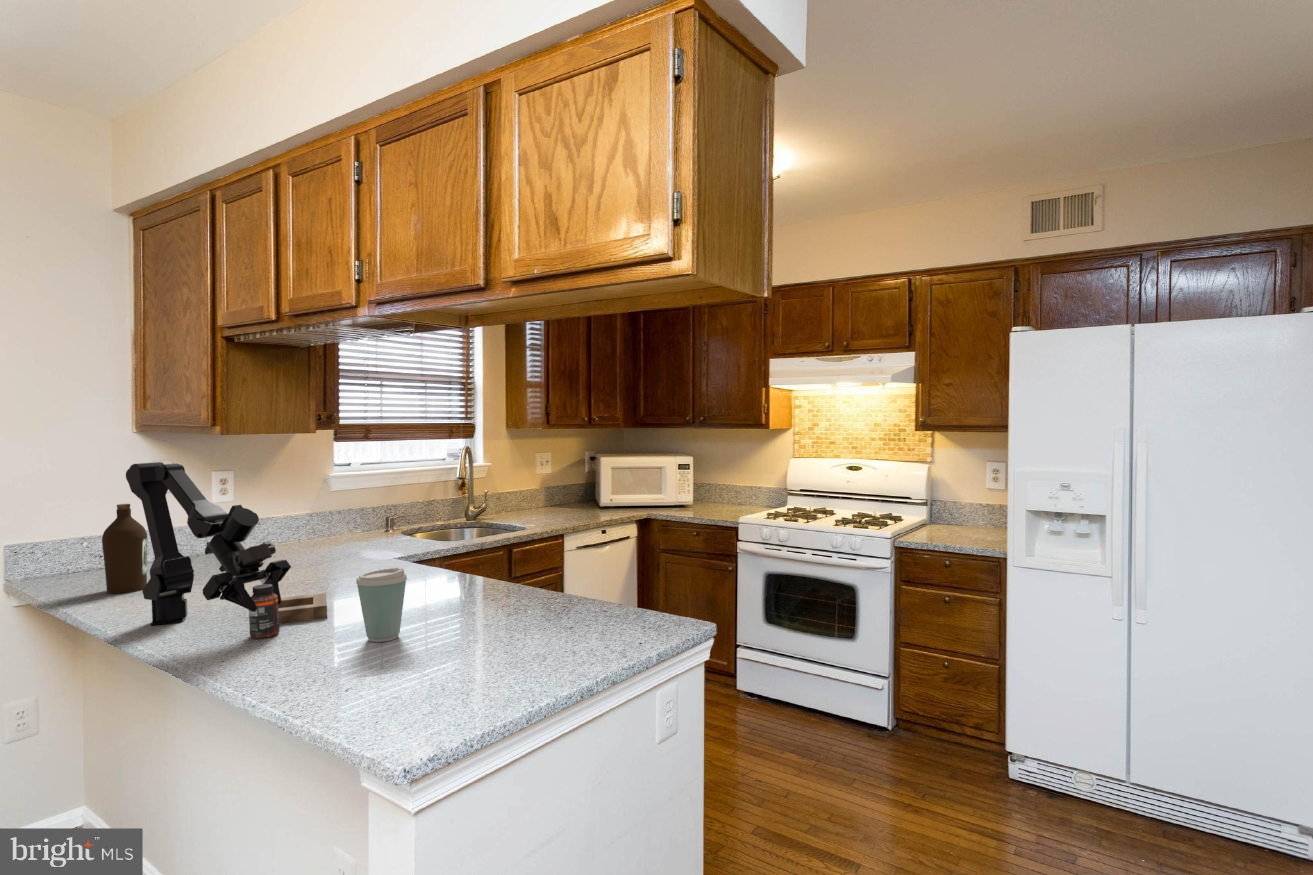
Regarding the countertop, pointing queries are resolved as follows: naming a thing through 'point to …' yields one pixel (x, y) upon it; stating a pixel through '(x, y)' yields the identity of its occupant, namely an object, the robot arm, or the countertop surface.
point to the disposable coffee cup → (382, 602)
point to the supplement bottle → (264, 612)
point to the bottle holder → (302, 608)
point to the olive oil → (125, 553)
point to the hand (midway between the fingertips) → (267, 606)
